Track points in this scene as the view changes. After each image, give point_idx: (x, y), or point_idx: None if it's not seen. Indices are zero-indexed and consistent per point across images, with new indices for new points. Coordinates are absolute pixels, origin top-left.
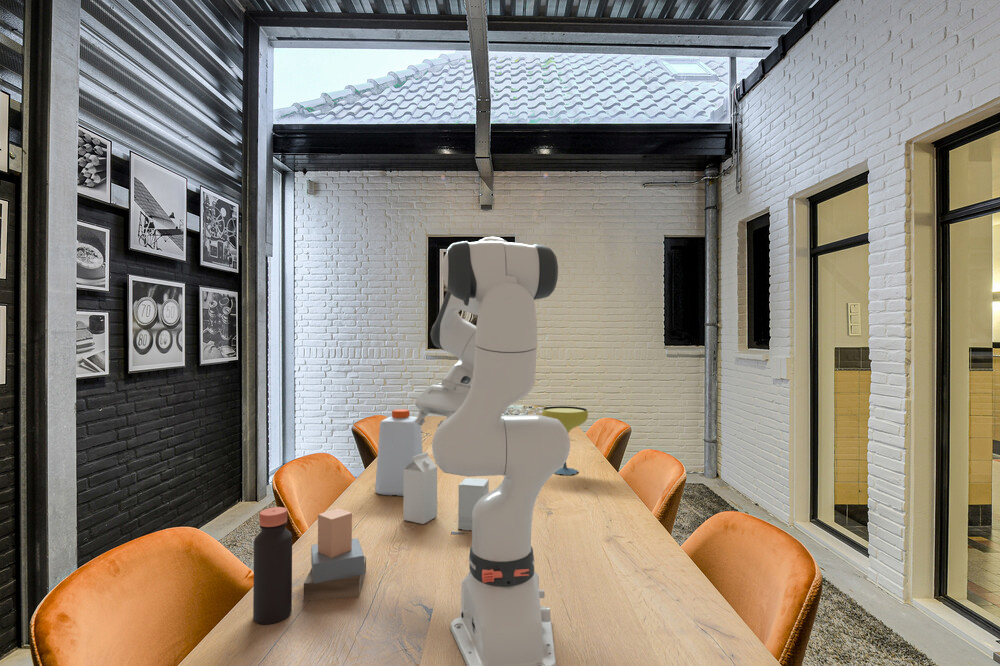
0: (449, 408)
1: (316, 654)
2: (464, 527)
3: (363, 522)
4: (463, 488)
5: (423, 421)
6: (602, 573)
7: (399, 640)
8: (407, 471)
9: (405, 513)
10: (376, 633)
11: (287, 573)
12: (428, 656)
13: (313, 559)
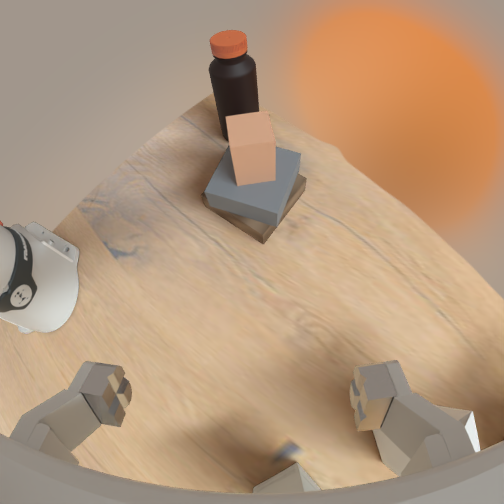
0: (15, 451)
1: (149, 143)
2: (285, 470)
3: (449, 332)
4: None
5: (356, 413)
6: None
7: (105, 202)
8: (459, 417)
9: None
10: (130, 190)
11: (217, 104)
12: (72, 211)
13: None
